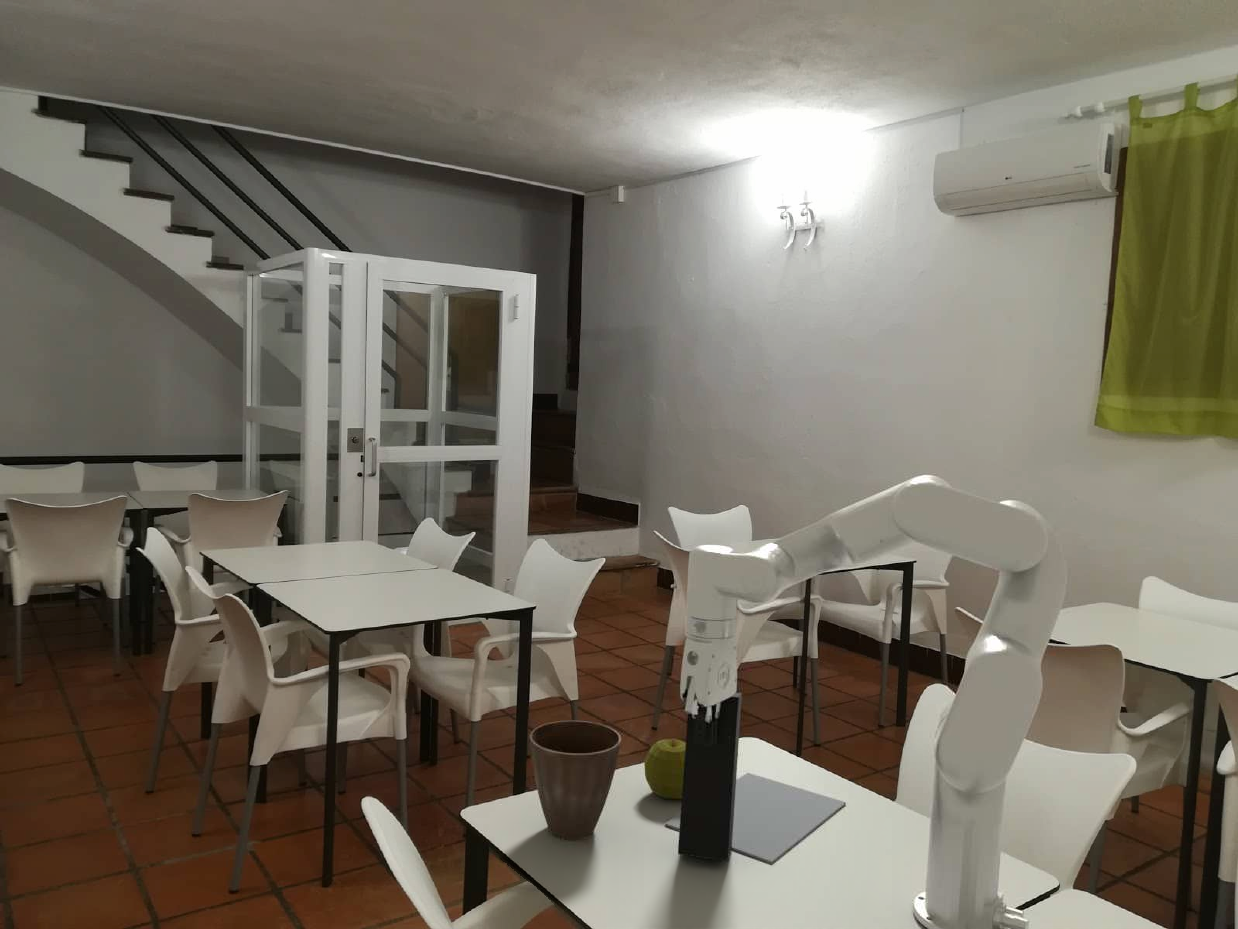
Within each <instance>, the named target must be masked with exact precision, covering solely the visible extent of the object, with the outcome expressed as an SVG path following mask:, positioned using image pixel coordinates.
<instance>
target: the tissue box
mask: <svg viewBox="0 0 1238 929" xmlns="http://www.w3.org/2000/svg"><path fill="white" fill-rule="evenodd" d="M742 699H743V693H742V692H735V694H734V695H733V696H731V697H730V698H728V699H726V700H724V701H722V703H721V705H720V713H719V717H718V718H717V736H716V744H715V745H712V746H711V747H706V746H703V745H699V744H696V743H694V742H693V732H694V719H693V717H692V714H689V713H687V721H686V722H687V724H686V735H685V736H686V737H685V743H686V748H685V761H684V775H683V789H682V798H681V805H680V806H681V807H680V814H681V816H680V830H679V833H678V843H677V844H678V846H677V848H678V849H677V855H682V856H690V857H691V856H692V857H696V858H702V859H703V858H705V859H711V860H720V861H723V862H724V861H725V862H726V861H727V862H728V861H729V858H730V856H731V855H730V854H731V852H732V850H731V849H732V835H733V820H734V805H735V790H736V780H737V773H738V760H739V759H738V758H739V743H740V742H739V741H740V740H739V739H740V730H741V729H740V726H741V710H742V703H743V702H742V701H743V700H742ZM715 719H716V718H715Z"/></svg>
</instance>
